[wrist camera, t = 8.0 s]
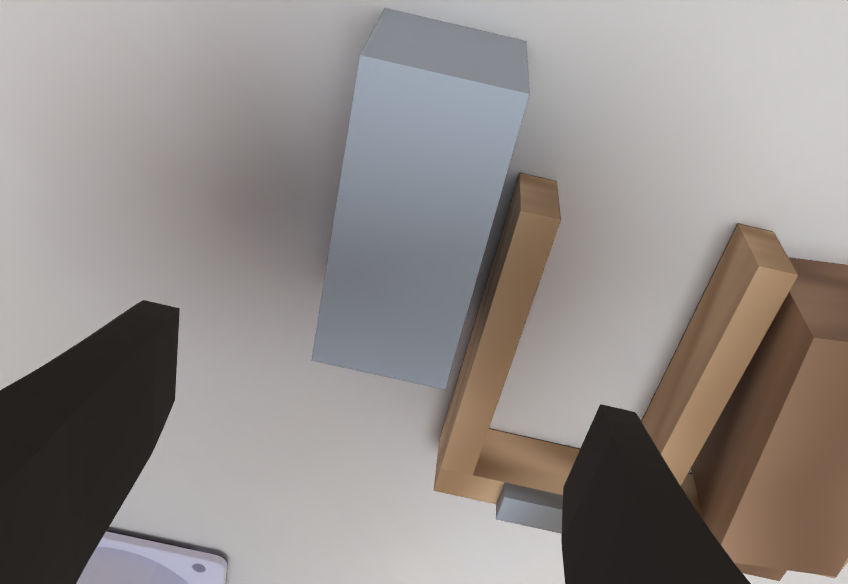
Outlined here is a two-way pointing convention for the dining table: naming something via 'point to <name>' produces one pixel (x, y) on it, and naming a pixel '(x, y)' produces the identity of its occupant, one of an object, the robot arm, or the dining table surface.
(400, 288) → the slate stick
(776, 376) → the walnut block
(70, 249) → the dining table surface
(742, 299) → the rack
